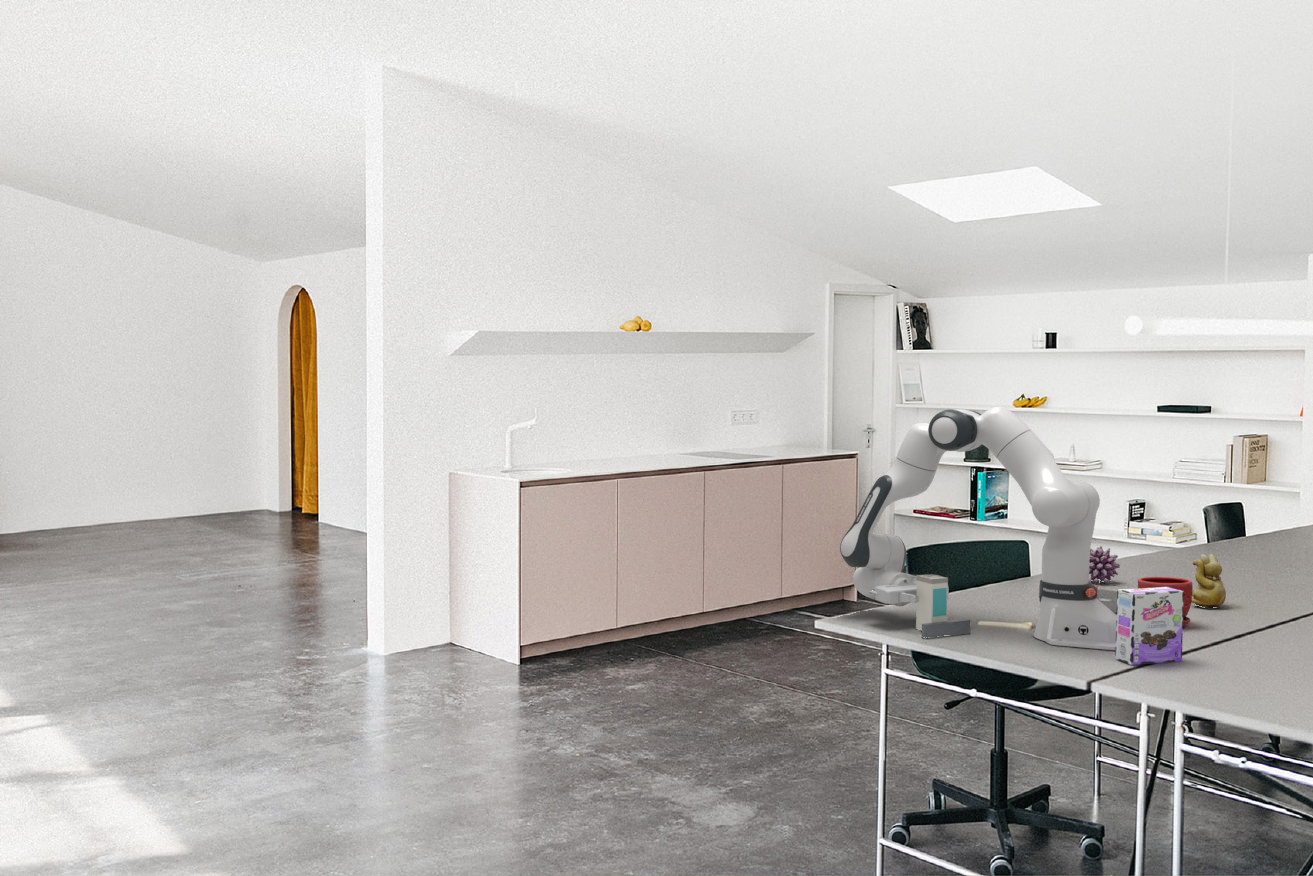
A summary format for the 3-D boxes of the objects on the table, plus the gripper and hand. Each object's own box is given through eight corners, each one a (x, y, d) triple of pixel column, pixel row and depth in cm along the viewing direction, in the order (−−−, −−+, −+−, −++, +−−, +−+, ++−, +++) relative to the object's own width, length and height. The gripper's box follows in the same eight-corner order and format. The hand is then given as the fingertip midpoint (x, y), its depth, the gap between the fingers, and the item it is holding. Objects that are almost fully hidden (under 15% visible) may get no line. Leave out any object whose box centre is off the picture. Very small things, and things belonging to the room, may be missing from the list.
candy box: (1131, 665, 255) (1132, 592, 254) (1114, 659, 261) (1115, 588, 260) (1183, 662, 259) (1185, 590, 258) (1165, 655, 264) (1166, 585, 263)
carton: (931, 628, 294) (932, 574, 293) (947, 632, 288) (948, 577, 287) (915, 629, 292) (916, 575, 291) (931, 634, 286) (932, 579, 285)
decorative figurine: (1204, 603, 328) (1205, 551, 327) (1233, 607, 321) (1234, 554, 320) (1186, 607, 322) (1187, 554, 321) (1215, 611, 315) (1216, 557, 315)
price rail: (921, 637, 283) (921, 623, 282) (965, 632, 289) (965, 618, 288) (925, 639, 281) (925, 625, 281) (970, 633, 287) (970, 619, 287)
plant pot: (1195, 623, 300) (1196, 578, 300) (1186, 632, 289) (1187, 585, 289) (1142, 617, 308) (1143, 573, 307) (1132, 626, 297) (1133, 580, 296)
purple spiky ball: (1079, 585, 356) (1080, 547, 356) (1081, 579, 367) (1081, 542, 367) (1119, 588, 352) (1120, 549, 351) (1119, 581, 363) (1120, 544, 362)
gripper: (865, 579, 297) (898, 588, 285) (928, 574, 306) (962, 582, 294) (865, 603, 298) (897, 613, 285) (927, 597, 306) (962, 607, 294)
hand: (931, 597), depth 290 cm, fingers open, 8 cm apart
